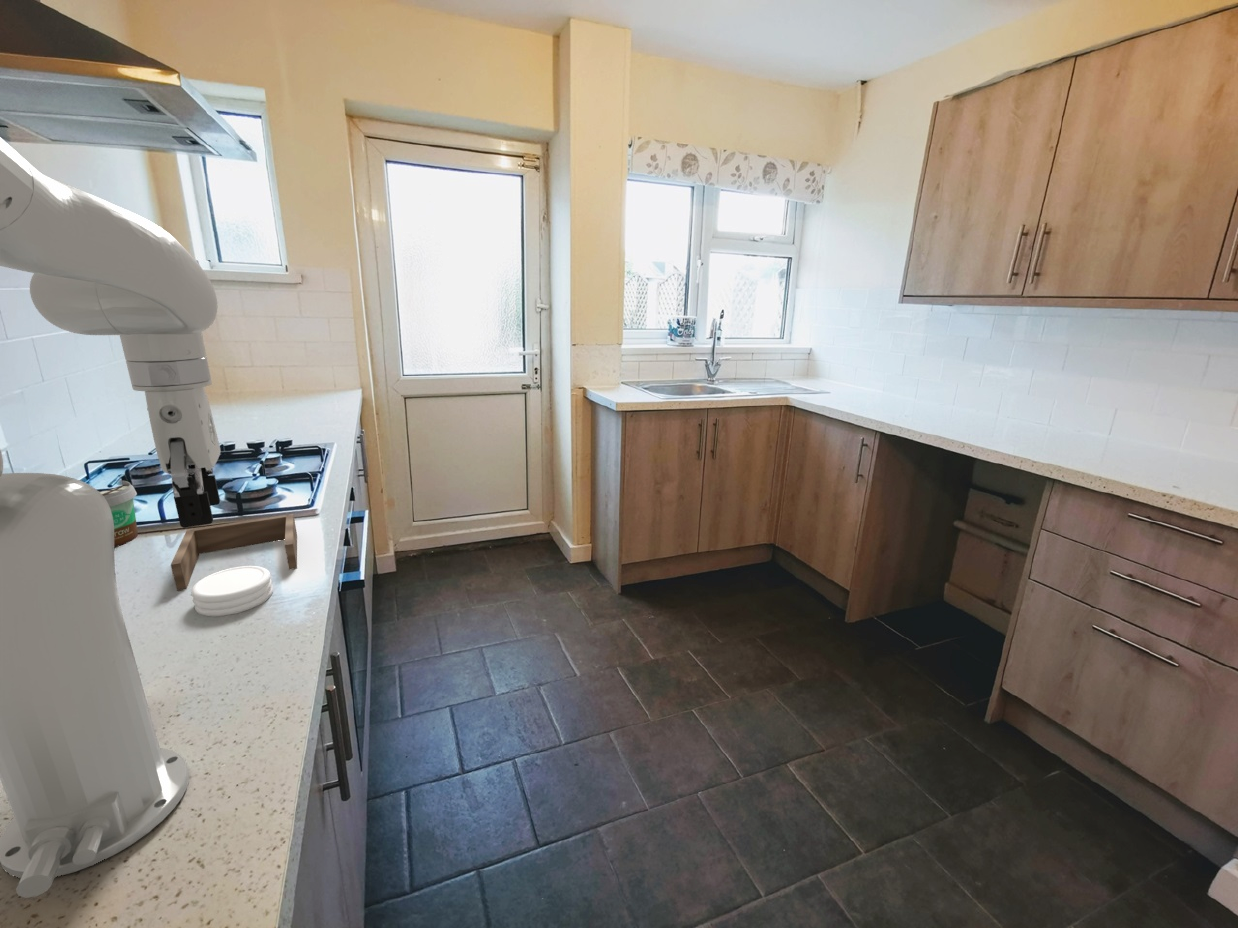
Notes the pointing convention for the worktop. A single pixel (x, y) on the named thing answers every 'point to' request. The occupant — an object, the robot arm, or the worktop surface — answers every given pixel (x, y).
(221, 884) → the worktop surface
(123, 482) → the food container
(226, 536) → the box
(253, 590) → the coaster
